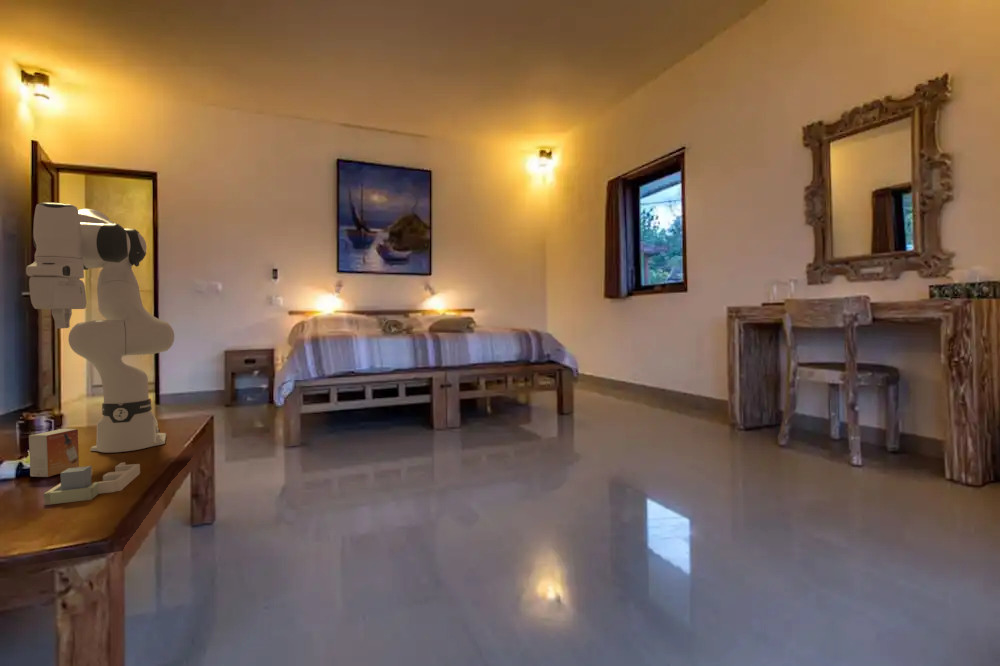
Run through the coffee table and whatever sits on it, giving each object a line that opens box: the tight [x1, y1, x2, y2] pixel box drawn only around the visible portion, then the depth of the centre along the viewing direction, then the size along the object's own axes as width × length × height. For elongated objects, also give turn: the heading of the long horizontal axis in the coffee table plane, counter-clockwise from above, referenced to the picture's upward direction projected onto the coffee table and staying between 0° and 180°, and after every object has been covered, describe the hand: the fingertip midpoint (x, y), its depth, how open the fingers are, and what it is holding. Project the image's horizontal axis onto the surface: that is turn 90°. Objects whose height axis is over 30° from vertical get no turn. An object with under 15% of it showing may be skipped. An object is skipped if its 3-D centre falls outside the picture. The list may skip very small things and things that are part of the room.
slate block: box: [59, 465, 92, 491], centre depth 112 cm, size 4×4×6 cm
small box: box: [28, 428, 80, 478], centre depth 130 cm, size 8×6×10 cm
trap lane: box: [43, 461, 141, 506], centre depth 119 cm, size 22×12×2 cm, turn 20°
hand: (62, 328), depth 123 cm, fingers closed
